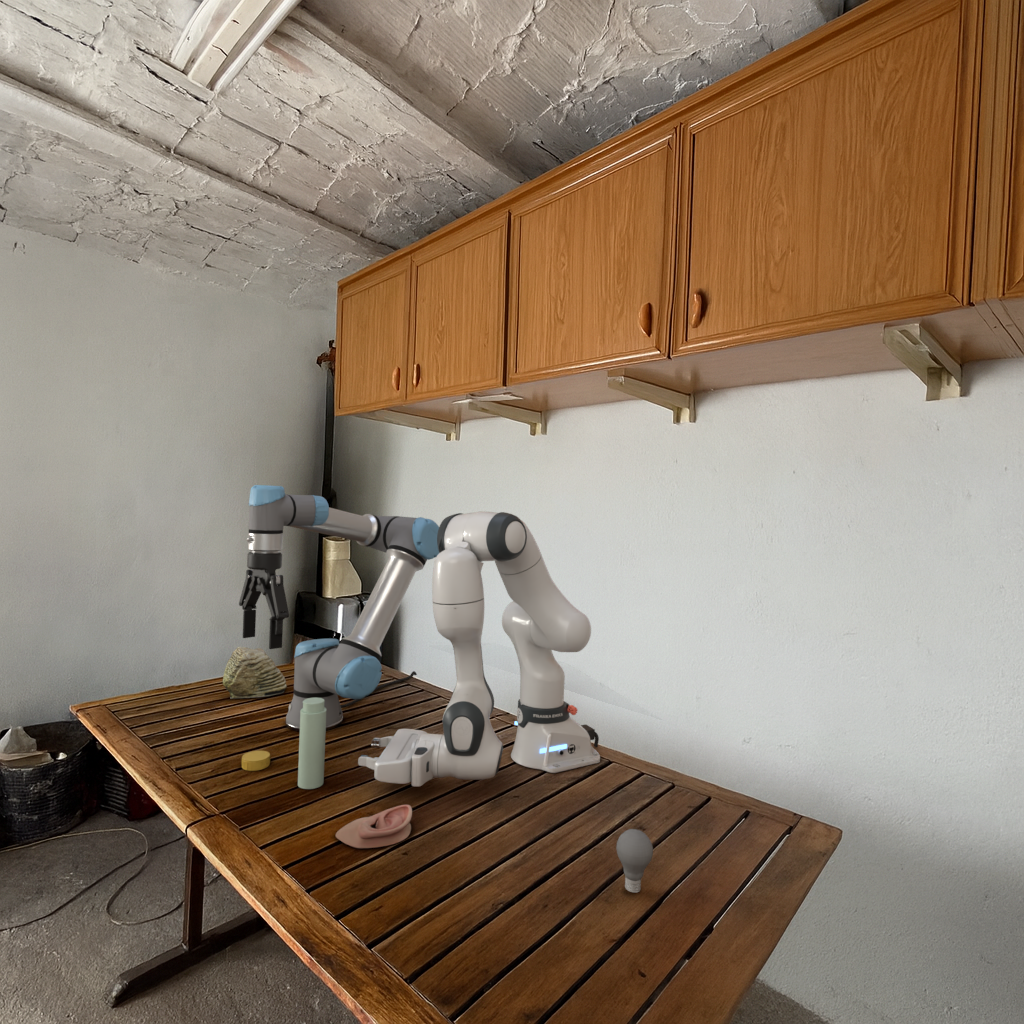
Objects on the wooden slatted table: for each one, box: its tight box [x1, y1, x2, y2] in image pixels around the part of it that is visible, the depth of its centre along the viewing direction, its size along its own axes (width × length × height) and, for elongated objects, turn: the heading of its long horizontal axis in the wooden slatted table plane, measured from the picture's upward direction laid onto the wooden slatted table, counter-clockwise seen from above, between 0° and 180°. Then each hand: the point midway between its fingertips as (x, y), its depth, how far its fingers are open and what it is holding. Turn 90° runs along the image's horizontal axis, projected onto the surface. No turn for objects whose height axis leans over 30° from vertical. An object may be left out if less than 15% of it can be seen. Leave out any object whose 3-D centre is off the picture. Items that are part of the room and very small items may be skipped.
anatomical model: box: [335, 804, 413, 849], centre depth 120 cm, size 13×4×12 cm
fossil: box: [222, 646, 288, 699], centre depth 198 cm, size 9×18×15 cm, turn 132°
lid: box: [240, 750, 271, 772], centre depth 148 cm, size 6×6×2 cm
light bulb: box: [615, 828, 654, 894], centre depth 106 cm, size 6×6×10 cm
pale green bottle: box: [297, 698, 327, 790], centre depth 139 cm, size 6×6×18 cm
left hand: (261, 642), depth 147 cm, fingers open, 13 cm apart
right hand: (365, 751), depth 139 cm, fingers open, 8 cm apart
